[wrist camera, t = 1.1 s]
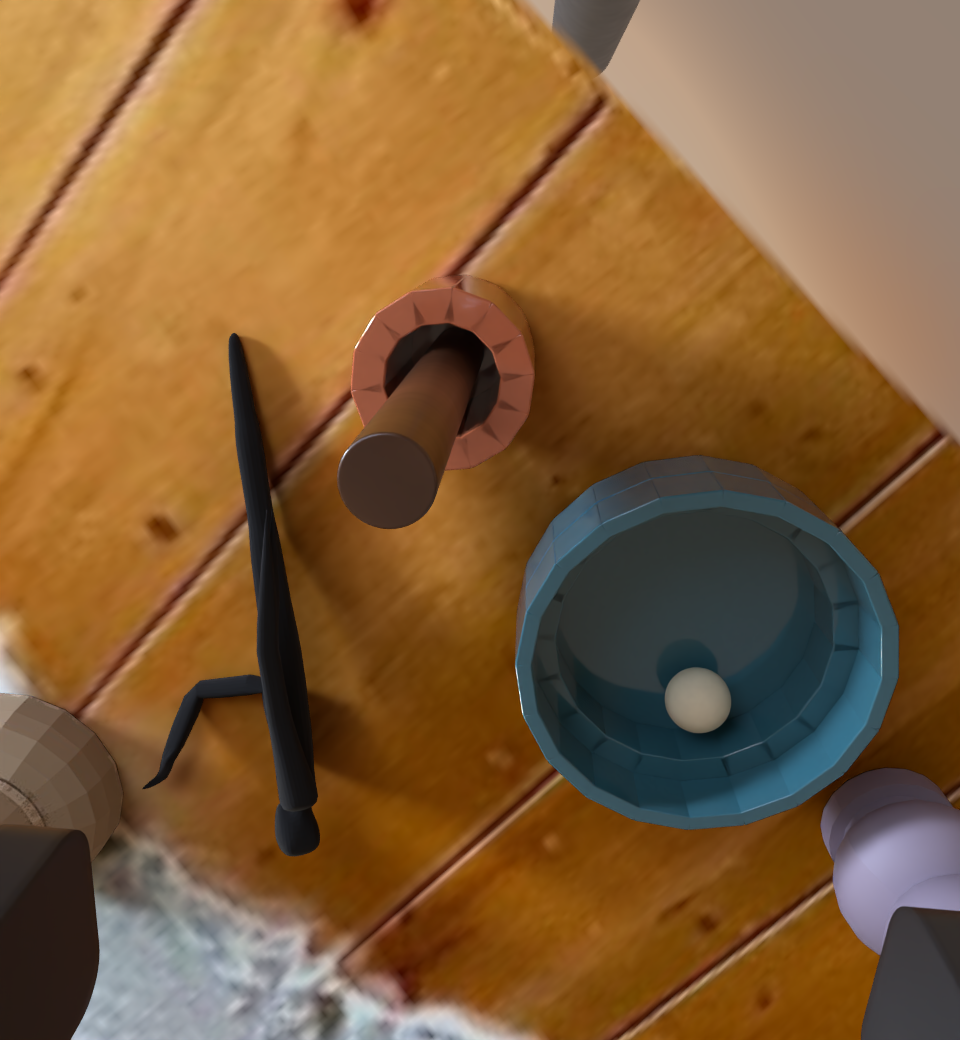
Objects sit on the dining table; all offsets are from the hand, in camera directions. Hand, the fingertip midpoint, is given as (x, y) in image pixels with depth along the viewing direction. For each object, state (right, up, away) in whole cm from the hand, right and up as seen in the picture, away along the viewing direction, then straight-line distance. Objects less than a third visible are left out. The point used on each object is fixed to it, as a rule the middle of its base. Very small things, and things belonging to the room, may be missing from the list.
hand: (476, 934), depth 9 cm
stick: (-1, +11, +29) cm, 31 cm away
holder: (-1, +11, +30) cm, 32 cm away
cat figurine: (+21, -11, +36) cm, 43 cm away
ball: (+10, -4, +32) cm, 34 cm away
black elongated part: (-13, +1, +34) cm, 37 cm away
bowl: (+10, 0, +33) cm, 34 cm away
